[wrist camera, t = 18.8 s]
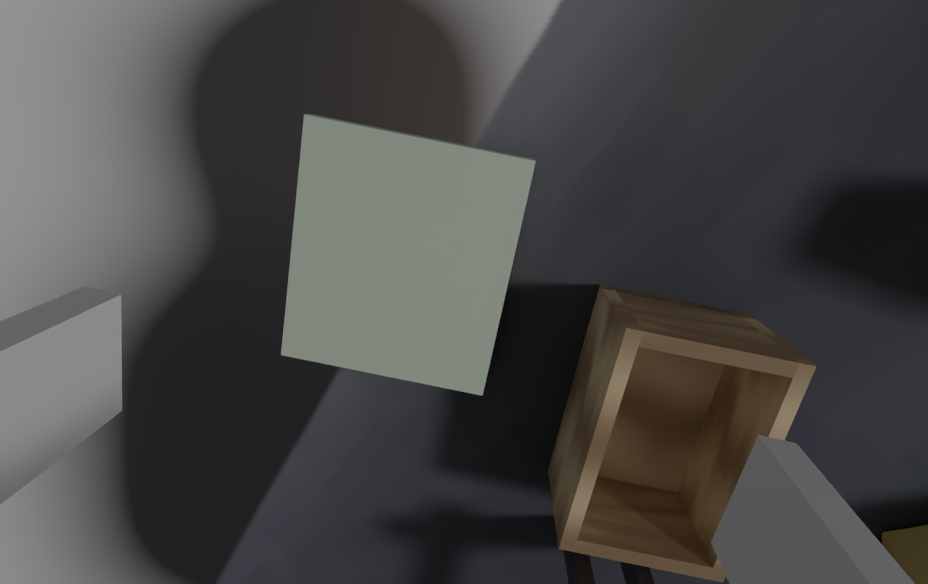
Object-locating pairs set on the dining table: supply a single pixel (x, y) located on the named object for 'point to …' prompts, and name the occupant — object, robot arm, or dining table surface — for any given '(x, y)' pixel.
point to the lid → (401, 252)
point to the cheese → (909, 551)
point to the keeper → (582, 575)
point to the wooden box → (665, 427)
